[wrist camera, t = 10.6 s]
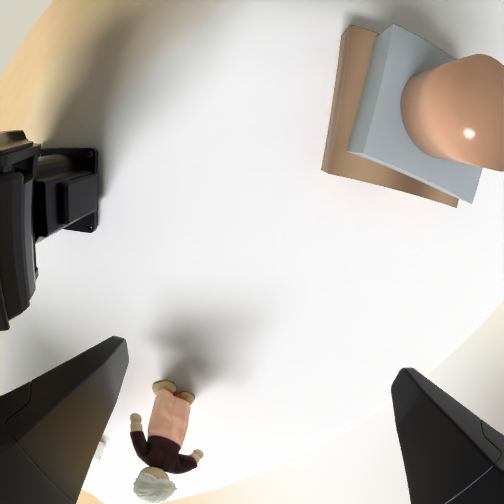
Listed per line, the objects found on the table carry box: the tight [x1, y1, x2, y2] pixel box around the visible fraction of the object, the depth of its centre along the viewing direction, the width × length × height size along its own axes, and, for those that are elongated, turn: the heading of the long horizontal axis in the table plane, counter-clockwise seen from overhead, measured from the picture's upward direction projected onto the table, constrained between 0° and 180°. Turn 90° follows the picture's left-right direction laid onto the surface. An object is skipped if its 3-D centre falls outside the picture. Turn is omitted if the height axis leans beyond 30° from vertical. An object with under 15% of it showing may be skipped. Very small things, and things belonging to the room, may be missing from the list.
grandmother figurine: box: [130, 381, 203, 503], centre depth 21 cm, size 8×4×13 cm, turn 59°
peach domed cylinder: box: [400, 54, 504, 171], centre depth 10 cm, size 5×5×5 cm
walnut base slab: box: [321, 25, 459, 208], centre depth 16 cm, size 10×10×3 cm
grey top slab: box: [346, 23, 482, 204], centre depth 13 cm, size 8×8×3 cm
